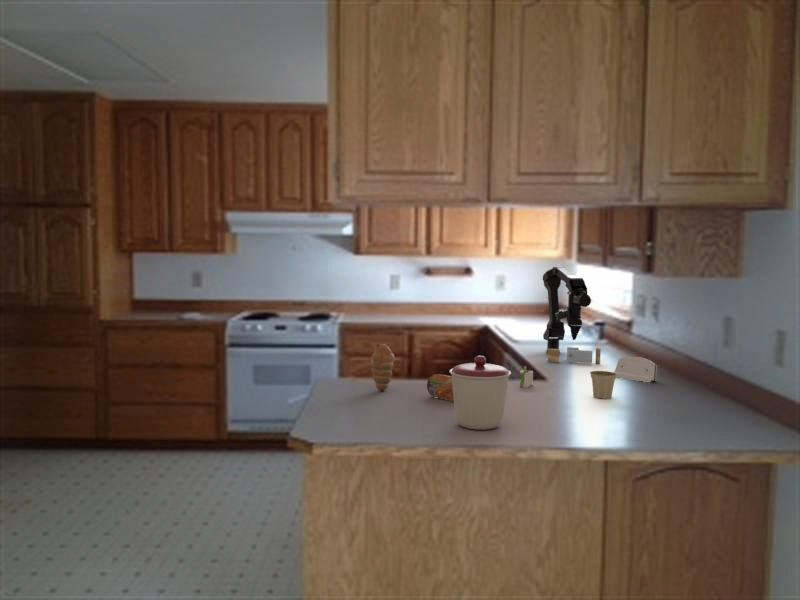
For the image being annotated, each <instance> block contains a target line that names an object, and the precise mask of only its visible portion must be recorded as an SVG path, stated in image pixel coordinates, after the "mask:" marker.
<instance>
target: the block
mask: <svg viewBox="0 0 800 600" xmlns="http://www.w3.org/2000/svg"><path fill="white" fill-rule="evenodd" d="M567 350H580V348H579V347H576V346H575V347H574V346H573V347H572V346H570V347H568V346H567V347H566V351H567Z"/></svg>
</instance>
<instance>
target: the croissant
mask: <svg viewBox="0 0 800 600" xmlns="http://www.w3.org/2000/svg"><path fill="white" fill-rule="evenodd" d="M395 359H396V357H395V354H394V353H393V351H392V349H390V341H387V342H386V343H379V342H375V347H374V350H373V354H371V362H370V367H371V374H372V377H373V378H372V379H373V381H374V383H375V387H376V389H377V391H379V390H385V389H386V390H387V389H388V387H389V384H390V381H391V379H392V377H393V371H392V370H393V369H394V367H395V365H394V361H395ZM386 390H385V391H386Z"/></svg>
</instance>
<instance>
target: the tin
mask: <svg viewBox="0 0 800 600" xmlns="http://www.w3.org/2000/svg"><path fill="white" fill-rule="evenodd" d="M426 388H427V392H428V394H429V396H431V397H432V396H433V397H438V398H442V399H446V400H445V401H447V400H450V401H449V402H454V397H453V386H452V375H446V374H441V373H440V374H439V373H438V374H435V373H434V374H432V375H431V376H430V377H429V378H428V379H427V384H426ZM433 397H432V398H433ZM442 399H441V400H442Z"/></svg>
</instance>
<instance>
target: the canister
mask: <svg viewBox="0 0 800 600" xmlns="http://www.w3.org/2000/svg"><path fill="white" fill-rule="evenodd" d="M473 361H474V362H469V363H467V362H466V363H461V364H457V365H455V366H453V368H451V369H449V370H448V371H449V374H450V375H451V376H452V386H453V397H454V401H453V404H454V413H455V419H456V421H457V424H458V425H459V426H460V427H463V428H464V429H465V428H466V429H469V430H475V431H477V430H478V431H487V430H493V429H496V428H498V427H499V426H500V425H501V423H502V421H503V417H504V411H505V405H506V398H507V391H508V384H509V383H508V382H509V377H510V375H512V372H511V370H508V369H507V368H506V367H504V366H502V365H498V364H493V363H487V358H486V357H485V356H484V355H477V356H475V357H474V359H473Z"/></svg>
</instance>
